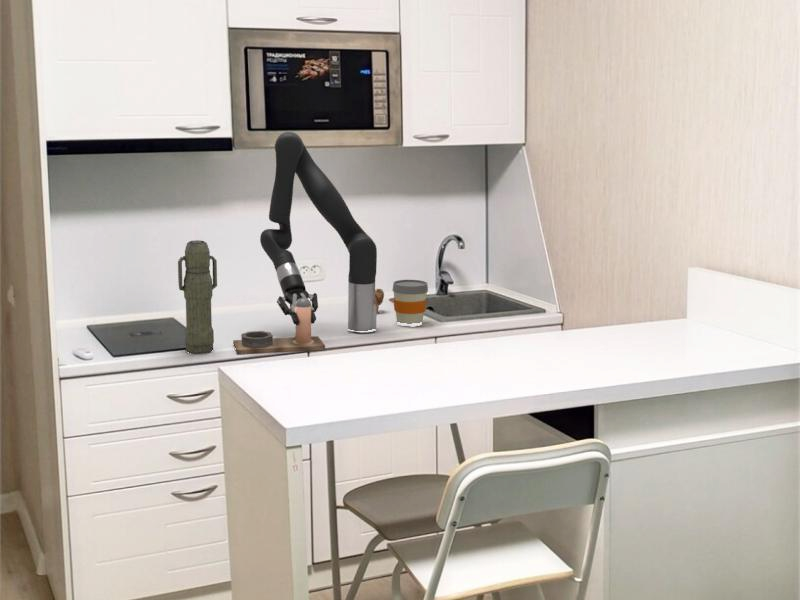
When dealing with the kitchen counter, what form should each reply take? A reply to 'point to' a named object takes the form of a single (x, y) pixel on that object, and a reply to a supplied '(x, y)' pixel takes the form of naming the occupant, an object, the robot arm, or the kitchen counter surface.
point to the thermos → (198, 296)
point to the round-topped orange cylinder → (303, 321)
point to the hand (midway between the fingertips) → (305, 322)
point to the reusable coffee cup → (410, 300)
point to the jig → (273, 344)
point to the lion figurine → (378, 297)
